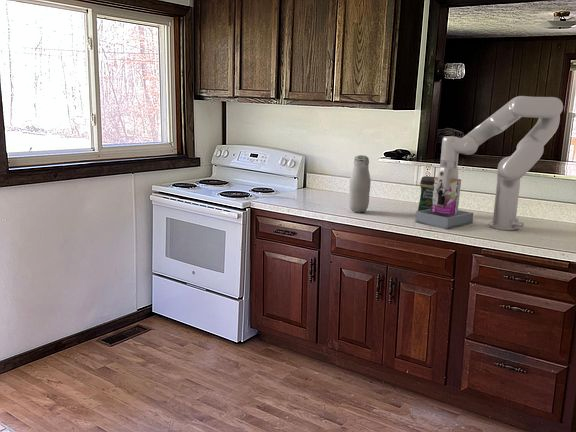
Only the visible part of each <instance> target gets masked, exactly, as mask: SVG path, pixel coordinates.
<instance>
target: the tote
mask: <svg viewBox="0 0 576 432" xmlns="http://www.w3.org/2000/svg"><path fill="white" fill-rule="evenodd" d="M414 220H415V221H414V223H417V224H421V225H426V226H431V227H435V228H438V229H443V230H451V229H455V228H460V227H463V226H467V225H471V224H473V220H474V212H471V211H466V210H460V209H458V214H457V215H455V216H452V215H445V214H439V213H432V212H431V209H427V210H422V211H418V210H417V211H415V219H414Z"/></svg>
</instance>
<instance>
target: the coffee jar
mask: <svg viewBox="0 0 576 432" xmlns="http://www.w3.org/2000/svg"><path fill="white" fill-rule="evenodd" d="M435 177H436V176H424V175H423V176H422V177H421V178H420V183H419V186H420V196H419V201H418V207H417V211H422V210H427V209H431V207H432V197H433V186H434V178H435Z"/></svg>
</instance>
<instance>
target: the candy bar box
mask: <svg viewBox="0 0 576 432" xmlns="http://www.w3.org/2000/svg"><path fill="white" fill-rule="evenodd" d="M434 177H435V178H434V186H433V197H432V207H431V212H432V213H439V214H445V215H452V216H455V215H457V214H458V210H459V206H460V205H459V203H460V202H459V201H460V195H461V185H462V178H461V179H460V178H458V179H451V183H450V190H446V191H445V194H444V196H445V202H444V205H440V204H438V193H437V191H436V187H437V181H438V176H434ZM441 189H443V188H441ZM441 191H442V190H441ZM442 192H443V191H442Z"/></svg>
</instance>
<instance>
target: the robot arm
mask: <svg viewBox="0 0 576 432" xmlns="http://www.w3.org/2000/svg"><path fill="white" fill-rule="evenodd" d="M563 110H564V105H563V102H562V100H561V99H560V98H559V97H556V96H555V97H554V96H526V95H518V96H516V97H513V98H512V99H510V100H509V101H507V103H505V104H504V105H503V106H502V107H500V108H499V109H497V110H496V111H495V112H494V113H493V114H491V115H490V116H489V117H487V118H486V119H485V120H484V121H483V122H481V123H480V124H479V125H477V126H476V127H474V128H473V129H472V130H471V131H469V132H468V133H467V134H465V135H464V136H463V137H459V136H452V135H451V136H449V135H448V136H443V138H442V141H441V150H440V151H441V153H440V161H439V162H440V163H439V170H438V175H437V177H438V181H437V187H436V191H437V193H438V204H440V205H444V202H445V196H444V194H445V191H446V190H450V183H451V179H459V168H458V164H459V154H463V155H469V156H470V155H473V154H475V153H476V152H477V151H478V148H479V147H480V146H481V145H482V144H483V143H485V142H486V141H487V140H489V139H491V138H492V137H494V136H496V135H499V134H501V133H503V132H504V131H505V130H507V129H508V128H509V127H510V126H511V125H514V123H516V122H517V121H519V120H520V119H521V118H534V119H535V118H536V119H537V122H536V123H535V125H533V127H532V128H531V129H530V130H529V131H528V133H526V134H525V135H524V137H523V138H521V140H520V141H519V142H518V143H517V145H516V150H514V152H513V153H512V154H511V155H510V156H506V157H505V156H504V157H503V158H502V159H501V160H500V161H499V162H498V165H497V170H496V171H497V173H496V187H495V188H496V189H495V198H494V207H493V215H492V221H491V222H488V226H489V227H490V228H492V229H496V230H503V231H517V230H519V229H520V228H524V226H525V224H524V223H525V222H523V221H519V218H517V214H518V212H517V211H518V205H519V196H520V187H521V179H522V178H523V177H524V176H525V175H526V174H527V173H528V172H529V171H530V170H531V169H532V167H534V166H535V164H537V162H538V161H539V160H540V159H541V157H542V155H543V154H544V151H545V150H544V149H545V147H544V146H545V145H546V144H547V143H548V142H549V141H550V139H552V138H553V136H554V134H556V132H557V130H558V128H559V125H560V121H561V116H560V115H561V113H562V112H563ZM441 188H443V189H441ZM441 190H442V191H443V192H442V191H441Z"/></svg>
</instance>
